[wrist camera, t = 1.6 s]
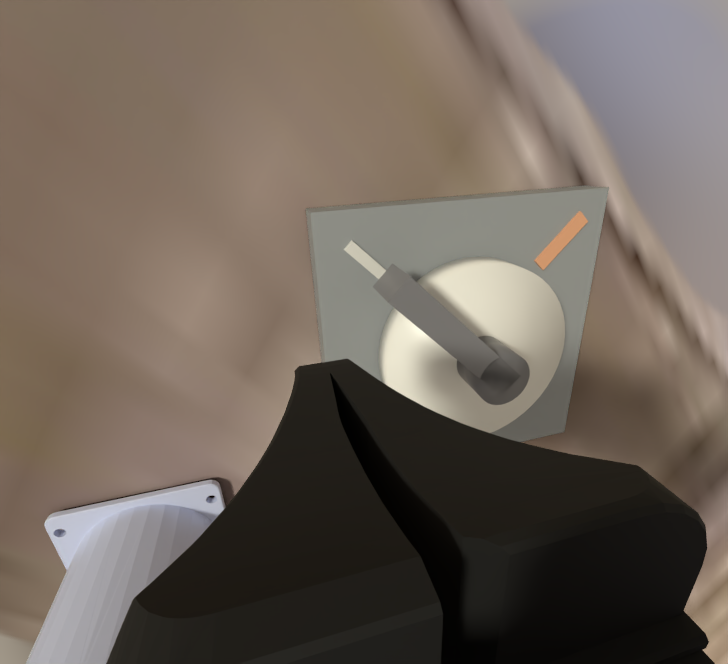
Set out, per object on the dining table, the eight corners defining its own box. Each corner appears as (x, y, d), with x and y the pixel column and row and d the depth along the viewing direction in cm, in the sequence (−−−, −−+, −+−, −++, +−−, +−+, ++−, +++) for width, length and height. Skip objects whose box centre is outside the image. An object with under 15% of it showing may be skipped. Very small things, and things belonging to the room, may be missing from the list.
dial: (574, 328, 22) (629, 356, 18) (459, 448, 23) (492, 494, 20) (443, 182, 17) (487, 187, 14) (306, 344, 18) (318, 383, 15)
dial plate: (548, 418, 26) (565, 433, 24) (332, 464, 23) (338, 485, 22) (585, 185, 20) (611, 187, 19) (305, 208, 17) (310, 213, 16)
